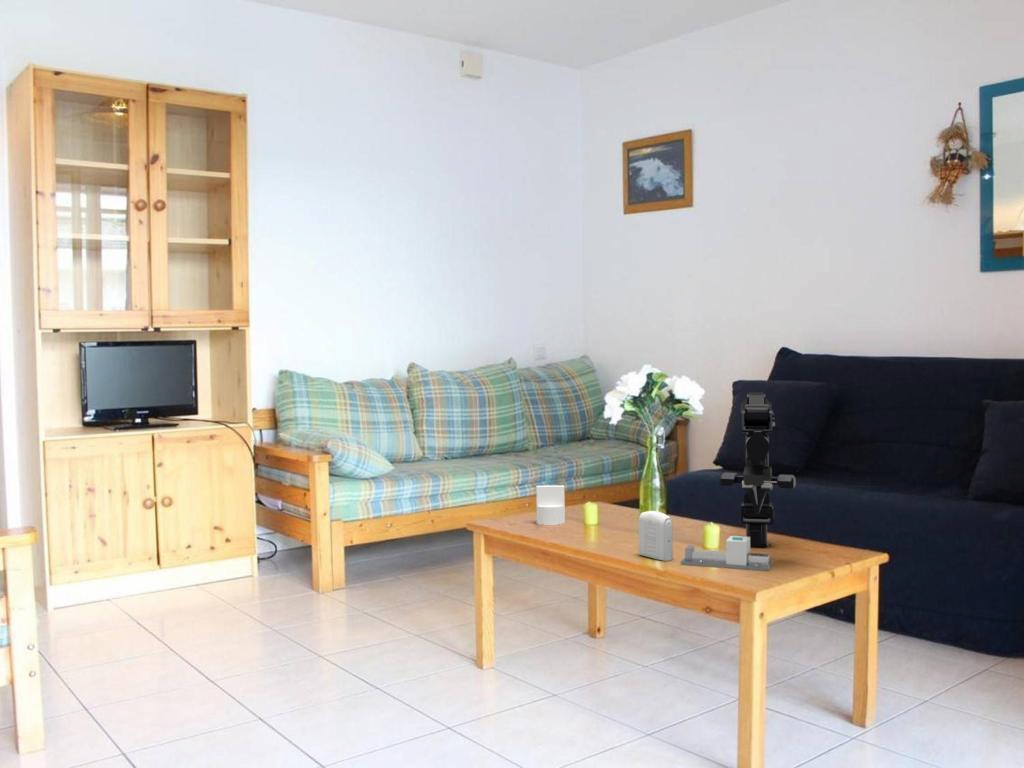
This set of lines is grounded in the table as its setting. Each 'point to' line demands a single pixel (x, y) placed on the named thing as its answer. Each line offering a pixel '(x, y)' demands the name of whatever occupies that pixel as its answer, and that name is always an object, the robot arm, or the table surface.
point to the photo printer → (656, 535)
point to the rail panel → (721, 564)
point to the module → (737, 550)
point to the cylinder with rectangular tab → (550, 504)
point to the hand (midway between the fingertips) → (757, 513)
